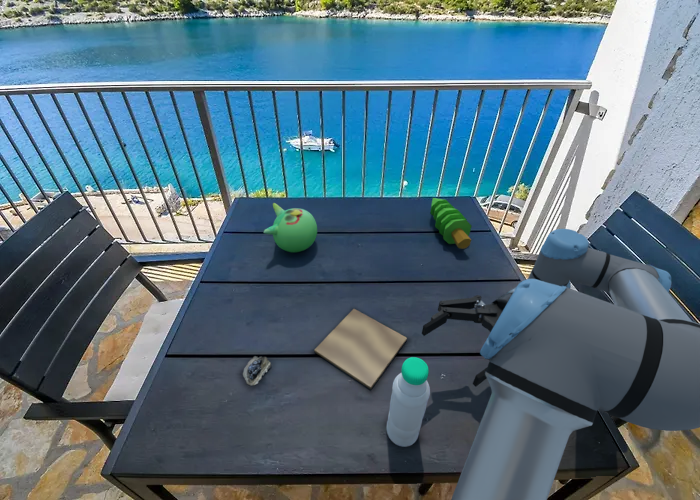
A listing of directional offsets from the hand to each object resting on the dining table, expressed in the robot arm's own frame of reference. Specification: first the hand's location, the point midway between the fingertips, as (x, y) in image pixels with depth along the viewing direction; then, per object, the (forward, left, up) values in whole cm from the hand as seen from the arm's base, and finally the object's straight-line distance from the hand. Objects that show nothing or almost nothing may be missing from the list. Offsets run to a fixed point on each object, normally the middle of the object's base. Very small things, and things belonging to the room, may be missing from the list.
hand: (447, 354), depth 67 cm
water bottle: (-8, +3, -22) cm, 23 cm away
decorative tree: (+68, +27, -22) cm, 77 cm away
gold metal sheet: (+5, +23, -21) cm, 32 cm away
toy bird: (+27, +68, -22) cm, 76 cm away
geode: (-17, +40, -22) cm, 49 cm away
